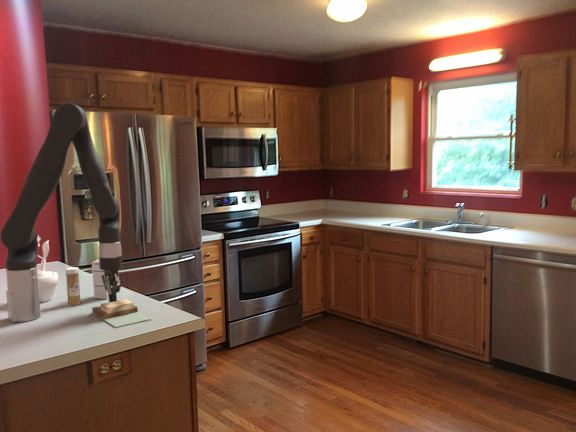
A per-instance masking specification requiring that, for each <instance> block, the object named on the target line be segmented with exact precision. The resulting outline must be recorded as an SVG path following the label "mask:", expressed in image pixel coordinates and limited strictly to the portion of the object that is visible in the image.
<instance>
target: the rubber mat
mask: <svg viewBox="0 0 576 432" xmlns="http://www.w3.org/2000/svg"><path fill="white" fill-rule="evenodd" d="M151 320H152V318H151V317H149V316H146V315H145V314H144V313H141V312H139V311H138V312H136V313H131V314H126V315H121V316H117V317H112V318H107V319H104V320H103V321H104V322H105V321H106V324H109V325H110V326H112V327H113V328H115V329H117V328H121V327H126V326H131V325H135V324H139V323H143V322H149V321H151Z"/></svg>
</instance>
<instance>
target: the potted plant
mask: <svg viewBox="0 0 576 432" xmlns="http://www.w3.org/2000/svg"><path fill="white" fill-rule="evenodd" d="M40 241H41V237H40V236H39V234H37V247H40V246H41V244H40ZM49 241H50V240H49V239H47V240H46V241H44V242H43V244H42V254H43V255H42V256H40V255H39V254H38V256H37V258H40V259H41V263H40V269H37V275H38V289H39V302H40V303H47V302H49V301H52V299H53V297H54V293H55V290H56V287H57V286H58V285H59V274H58V272H55V271H50V270H48V271H47V270H46V263H47V257H48V255H49V252H50V245H49Z"/></svg>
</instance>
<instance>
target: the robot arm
mask: <svg viewBox="0 0 576 432" xmlns="http://www.w3.org/2000/svg"><path fill="white" fill-rule="evenodd" d="M93 141H94V140H93V139H92V135H91V131H90V126H89V121H88V116H87V113H86V111H85V110H84V108H82V107H81V106H79V105H77V104H75V103H73V102H63V103H62V104H60V105H59V106H58V107H56V109H55V111H54V112H53V116H52V119H51V123H50V126H49V129H48V132H47V135H46V137H45V140H44V142H43V143H42V146H41V147H40V149H39V151H38V153H37V155H36V157H35V159H34V160H33V163H32V164H31V167H30V168H29V169H30V170H29V171H28V173H27V176H26V178H25V181H24V184H23V185H22V188H21V191H20V193H19V196H18V200H17V202H16V204H15V206H14V208H13V210H12V212H10V215H9V216H8V219H7V220H6V222H5V223H4V225H3V227H2V229H1V230H0V241H1V244H3V246H4V247H5V248H6V249H7V256H6V260H5V272H6V284H7V290H6V291H5V293H6V303H7V317H8V320H9V321H10V322H11V323H21V322H22V323H23V322H29V321H33V320H36V319H39V318H40V317H41V304H40V303H41V302H39V289H38V275H37V271H38V263H37V261H38V255H39V254H38V253H39V252H38V249H39V248H38V241H37V238H38V234H37V233H38V232H37V229H36V226H35V224H36V221H37V219H38V216H39V215H40V213H41V211H42V210H43V208H44V207H45V205H46V204H47V203H48V201H49V199H50V198H51V196H52V195H53V194H54V191H55V190H56V188H57V186H58V184H59V182H60V180H61V177H62V175H63V171H64V168H65V163H66V160H67V154H68V150H69V148H70V145H71V144H72V145H73V147H74V150H75V154H76V157H77V160H78V164H79V168H80V171H81V174H82V177H83V180H84V181H85V184H86V186H87V189H88V190H89V192H90V197H91V200H92V204H93V206H94V209H95V212H96V213H97V215H98V216H99V217H98V219H99V227H98V232H97V234H98V235H97V236H98V260H99V268H100V269H101V270H104V275H102V276H101V277H102V280H103V283H104V286H105V290H107V292H108V293H109V298H108V303H109V302H114V301H118V298H117V296H118V295H117V294H118V293H120V291H121V288H122V285H123V280H122V279H120V273H119V269H122V267H123V252H122V243H121V231H120V216H121V215H120V214H121V213H120V203H119V201H118V200H117V198H115V197H114V196H113V193H112V191H111V188H110V180H109V179H108V175H107V173H106V171H105V169H104V166H103V163H102V161H101V159H100V156H99V154H98V152H97V150H96V147H95V145H94V142H93Z"/></svg>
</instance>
